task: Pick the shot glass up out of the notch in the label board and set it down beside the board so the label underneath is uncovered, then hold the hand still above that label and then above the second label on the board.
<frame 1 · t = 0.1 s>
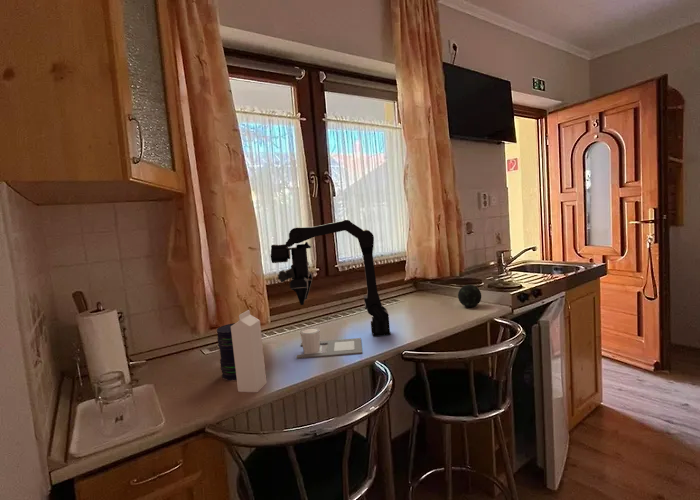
hand: (303, 301, 156), 15 cm above the countertop, tool pointing down, fingers open, 9 cm apart
shot glass: (311, 350, 145), on the countertop, touching label board
milk: (252, 388, 118), on the countertop
label board: (330, 348, 145), on the countertop
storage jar: (238, 374, 129), on the countertop
decorative stone: (470, 307, 185), on the countertop
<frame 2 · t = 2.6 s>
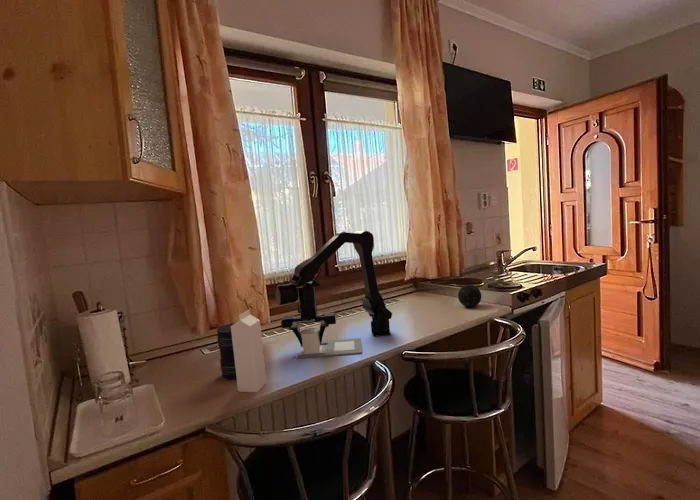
hand: (311, 343, 145), 2 cm above the countertop, tool pointing down, fingers closed on shot glass, 6 cm apart
shot glass: (311, 350, 145), on the countertop, touching gripper, label board
everything else where it was.
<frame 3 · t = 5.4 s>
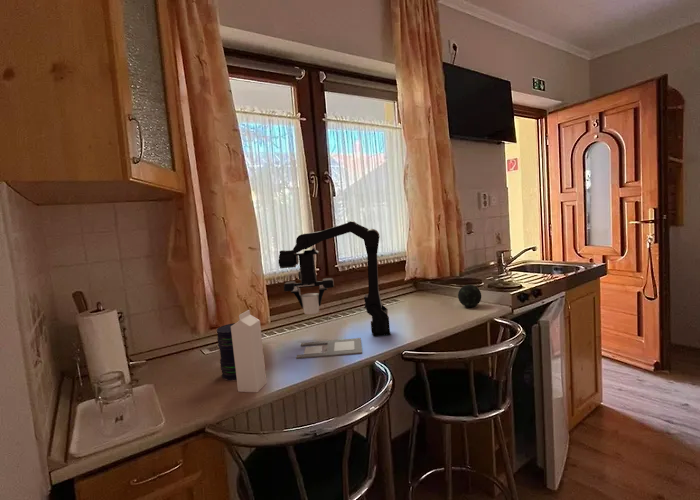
hand: (311, 306, 159), 12 cm above the countertop, tool pointing down, fingers closed on shot glass, 6 cm apart
shot glass: (311, 312, 159), point 10 cm above the countertop, touching gripper
everything else where it was.
when the fingers open (3 cm above the countertop, at t = 8.0 s): shot glass stays where it is, on the countertop.
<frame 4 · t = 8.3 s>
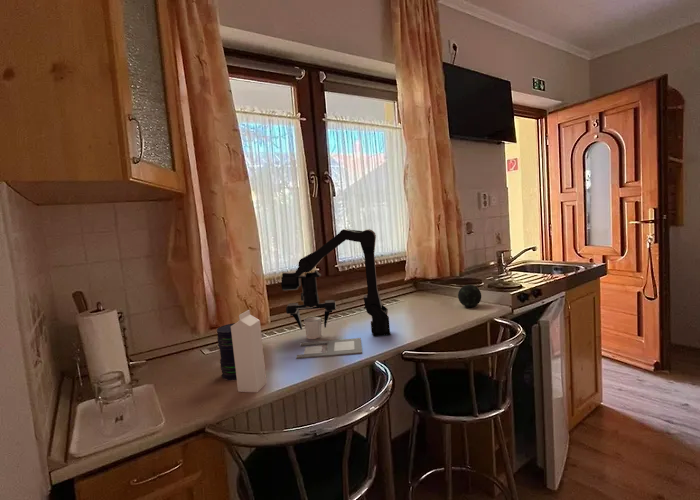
hand: (313, 328, 160), 3 cm above the countertop, tool pointing down, fingers open, 9 cm apart
shot glass: (314, 337, 161), on the countertop
everything else where it was.
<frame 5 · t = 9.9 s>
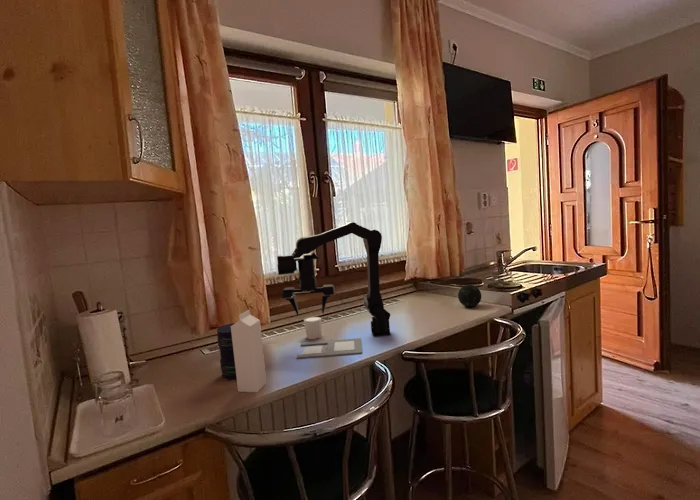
hand: (310, 314, 151), 11 cm above the countertop, tool pointing down, fingers open, 9 cm apart
nothing on the countertop moved.
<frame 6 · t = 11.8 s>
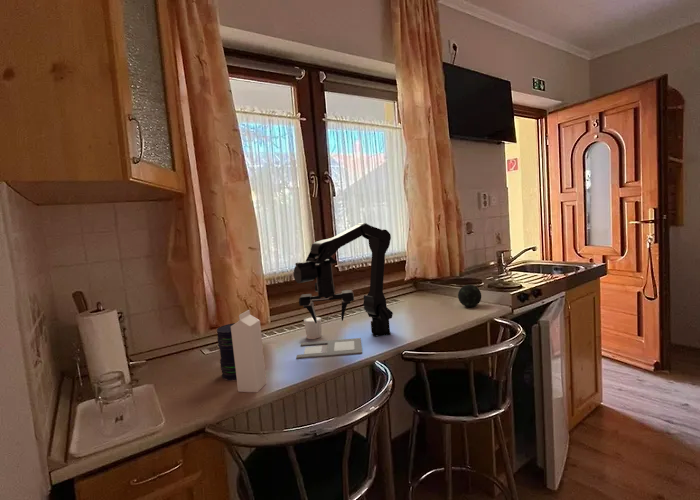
hand: (329, 321, 144), 10 cm above the countertop, tool pointing down, fingers open, 9 cm apart
nothing on the countertop moved.
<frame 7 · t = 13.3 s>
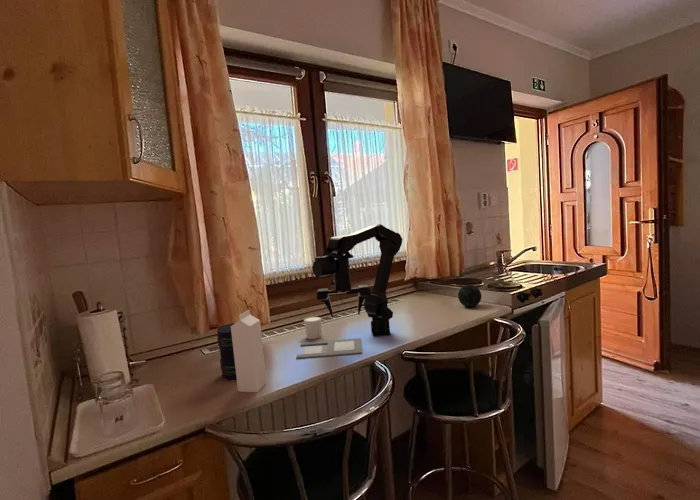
hand: (345, 315, 146), 11 cm above the countertop, tool pointing down, fingers open, 9 cm apart
nothing on the countertop moved.
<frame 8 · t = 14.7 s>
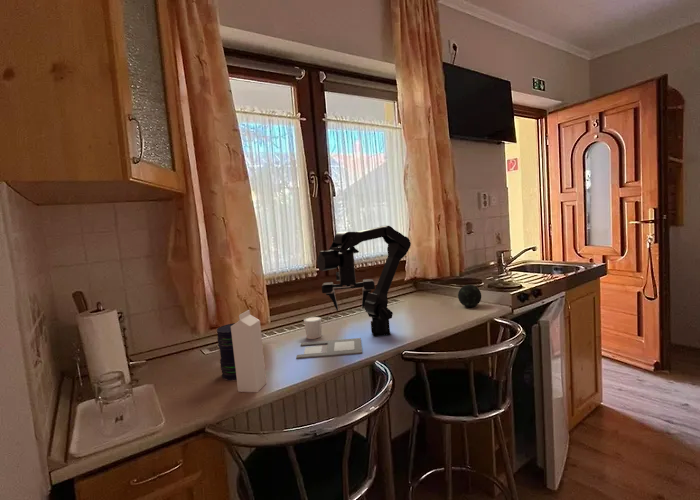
hand: (350, 309, 149), 12 cm above the countertop, tool pointing down, fingers open, 9 cm apart
nothing on the countertop moved.
at the end: shot glass inside the target area (0.1 cm from its centre), on the countertop; shot glass tilted 0°; the gripper is holding nothing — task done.
